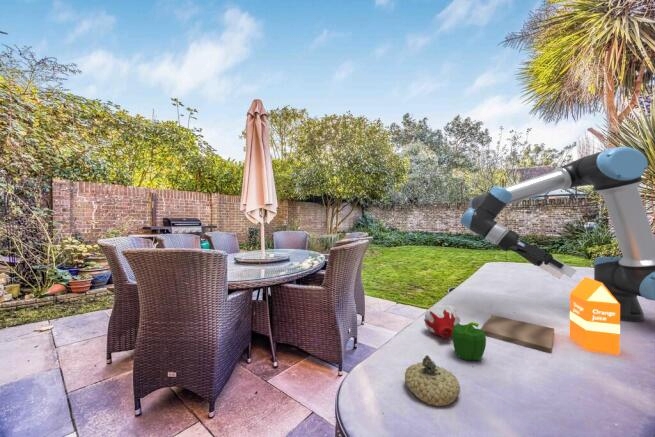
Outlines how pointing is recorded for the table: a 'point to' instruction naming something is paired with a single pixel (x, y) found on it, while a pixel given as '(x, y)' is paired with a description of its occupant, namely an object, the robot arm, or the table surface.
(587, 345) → the orange juice
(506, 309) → the table surface
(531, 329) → the board
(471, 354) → the bell pepper
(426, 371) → the acorn cap
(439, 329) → the white red rounded lump
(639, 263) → the robot arm
